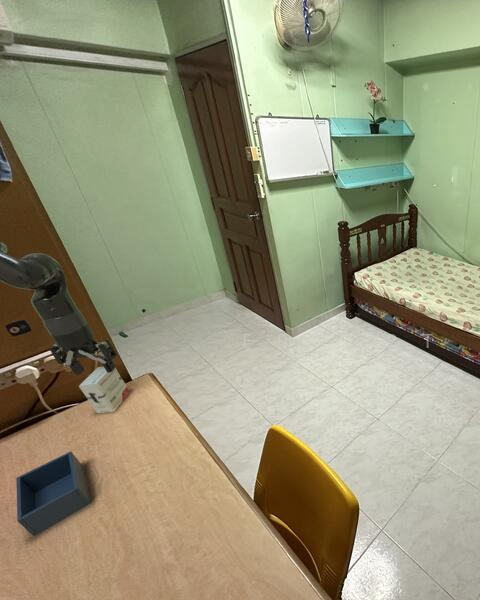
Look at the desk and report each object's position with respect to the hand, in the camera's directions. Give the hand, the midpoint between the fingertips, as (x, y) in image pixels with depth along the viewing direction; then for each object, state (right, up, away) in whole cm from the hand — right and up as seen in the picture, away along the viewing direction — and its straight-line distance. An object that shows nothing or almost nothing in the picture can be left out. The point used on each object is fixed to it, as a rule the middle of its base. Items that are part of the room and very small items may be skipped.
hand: (96, 371), depth 92 cm
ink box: (0, -11, +6) cm, 13 cm away
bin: (+11, -26, -19) cm, 34 cm away
